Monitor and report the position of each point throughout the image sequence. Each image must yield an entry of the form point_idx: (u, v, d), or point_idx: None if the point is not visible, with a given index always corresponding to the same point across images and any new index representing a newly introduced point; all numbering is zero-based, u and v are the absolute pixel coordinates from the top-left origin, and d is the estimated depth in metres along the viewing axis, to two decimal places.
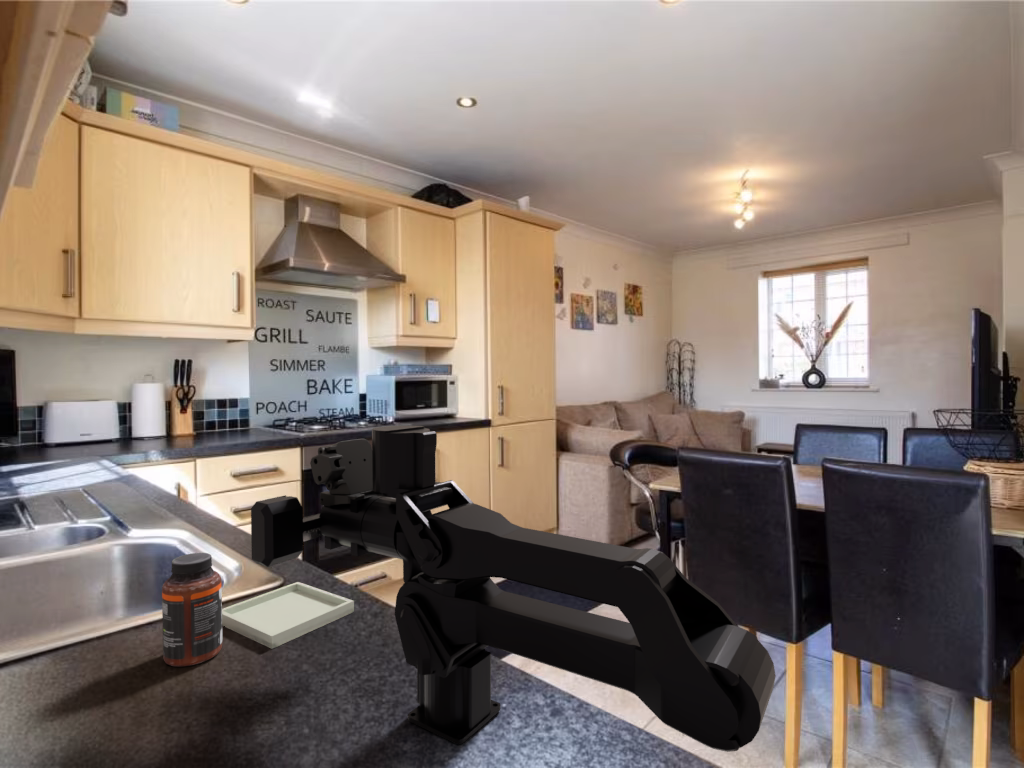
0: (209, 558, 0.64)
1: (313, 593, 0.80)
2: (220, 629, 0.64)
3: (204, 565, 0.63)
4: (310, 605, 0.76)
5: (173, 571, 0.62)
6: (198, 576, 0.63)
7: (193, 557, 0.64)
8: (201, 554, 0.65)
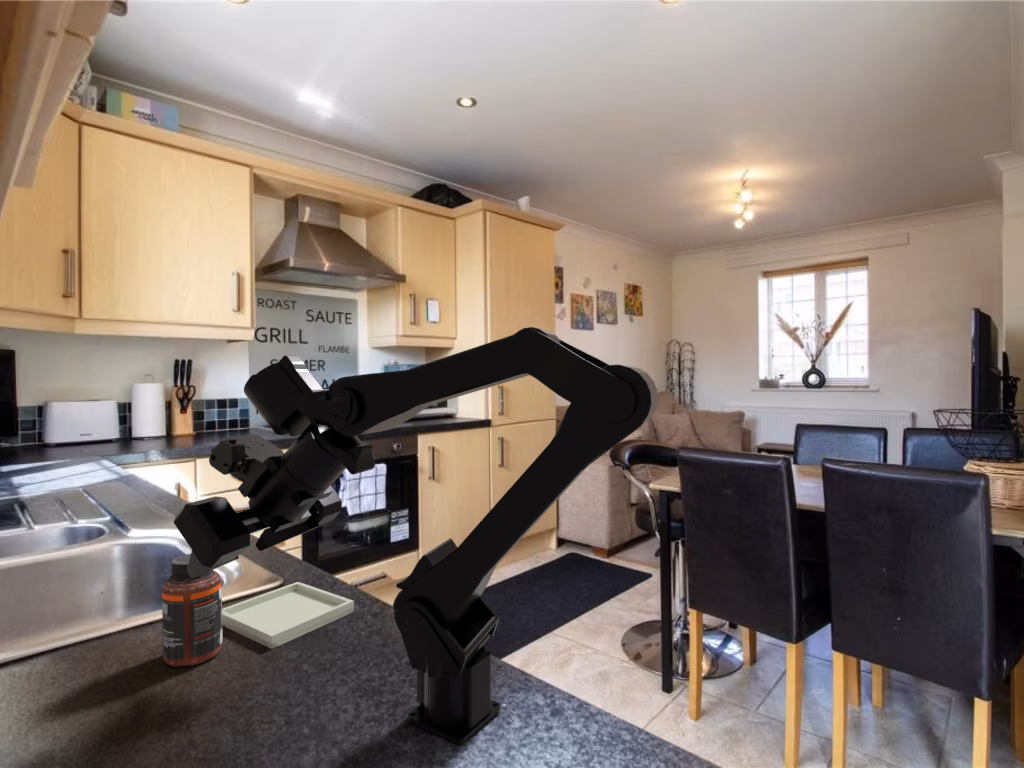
0: None
1: (313, 593, 0.80)
2: (220, 629, 0.64)
3: None
4: (310, 605, 0.76)
5: (173, 571, 0.62)
6: (198, 576, 0.63)
7: None
8: None
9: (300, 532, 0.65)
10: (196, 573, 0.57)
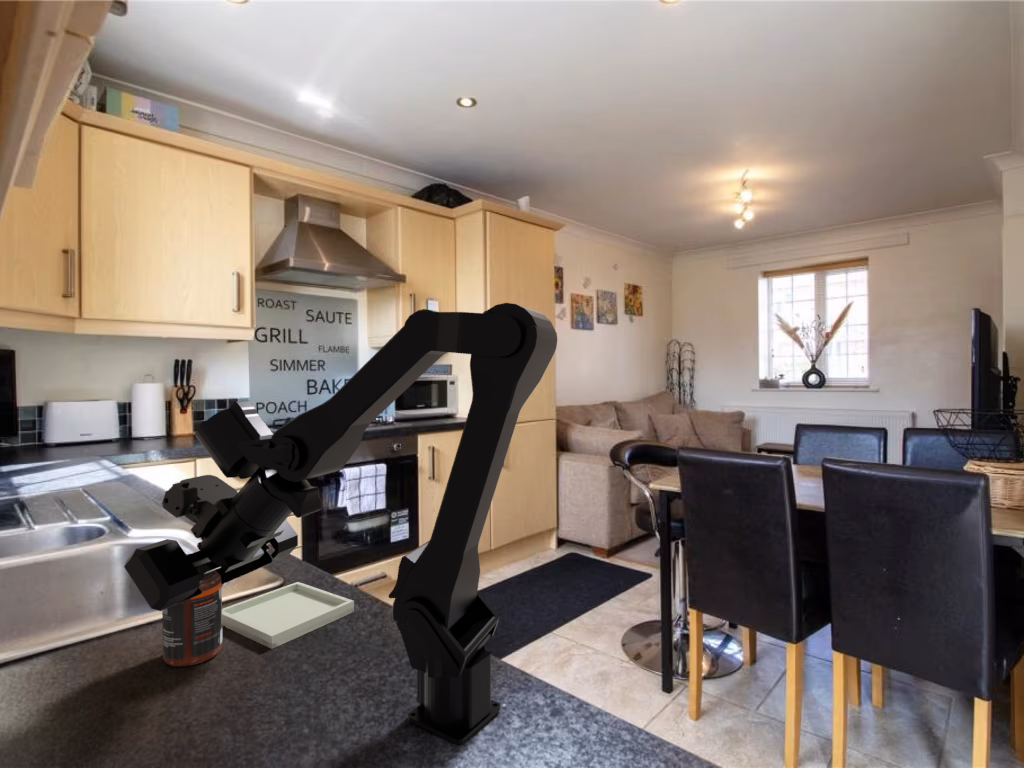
0: None
1: (313, 593, 0.80)
2: (220, 629, 0.64)
3: None
4: (310, 605, 0.76)
5: None
6: None
7: None
8: None
9: (246, 572, 0.66)
10: None
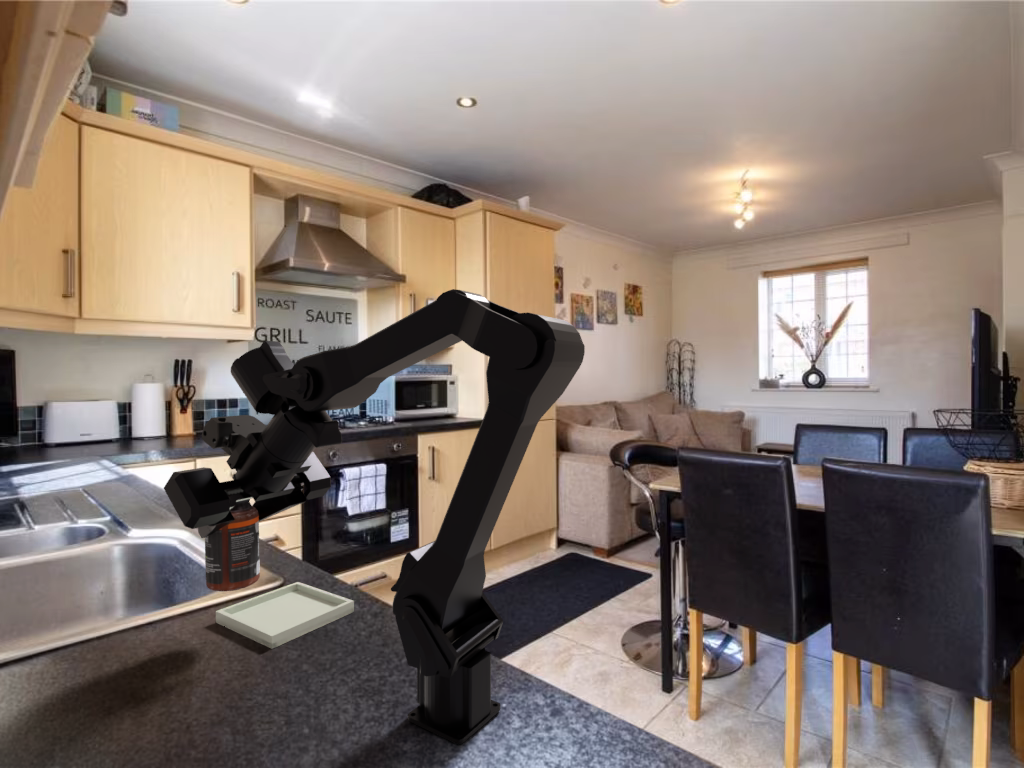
0: None
1: (313, 593, 0.80)
2: (257, 560, 0.68)
3: None
4: (310, 605, 0.76)
5: None
6: (235, 508, 0.67)
7: None
8: None
9: (281, 508, 0.69)
10: (204, 533, 0.65)
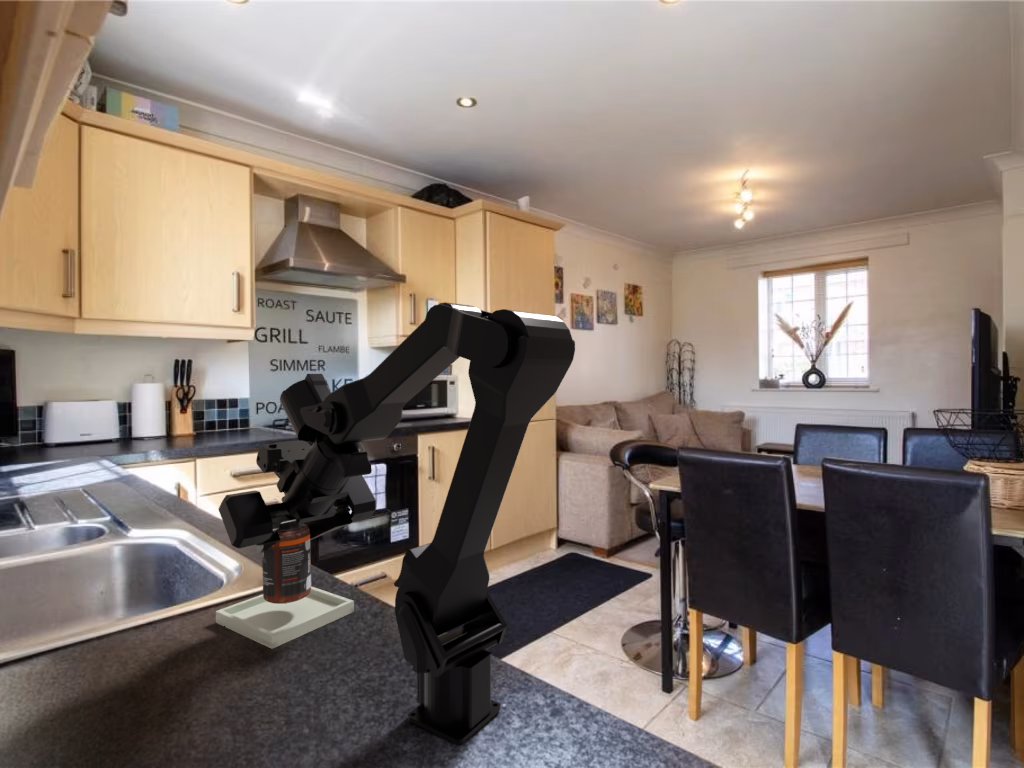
0: None
1: (313, 593, 0.80)
2: (307, 576, 0.73)
3: None
4: (310, 605, 0.76)
5: None
6: (287, 527, 0.72)
7: None
8: None
9: (329, 528, 0.74)
10: (259, 549, 0.71)
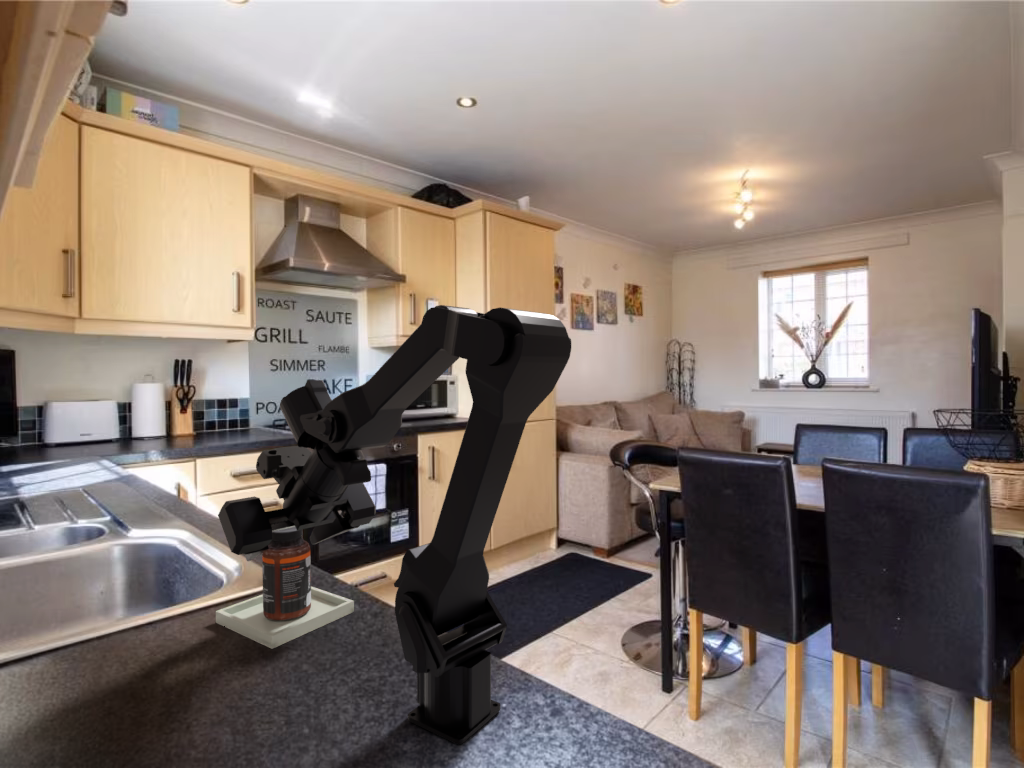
0: None
1: (313, 593, 0.80)
2: (307, 593, 0.73)
3: (293, 535, 0.73)
4: None
5: None
6: (287, 544, 0.72)
7: None
8: None
9: (337, 532, 0.75)
10: (247, 557, 0.70)
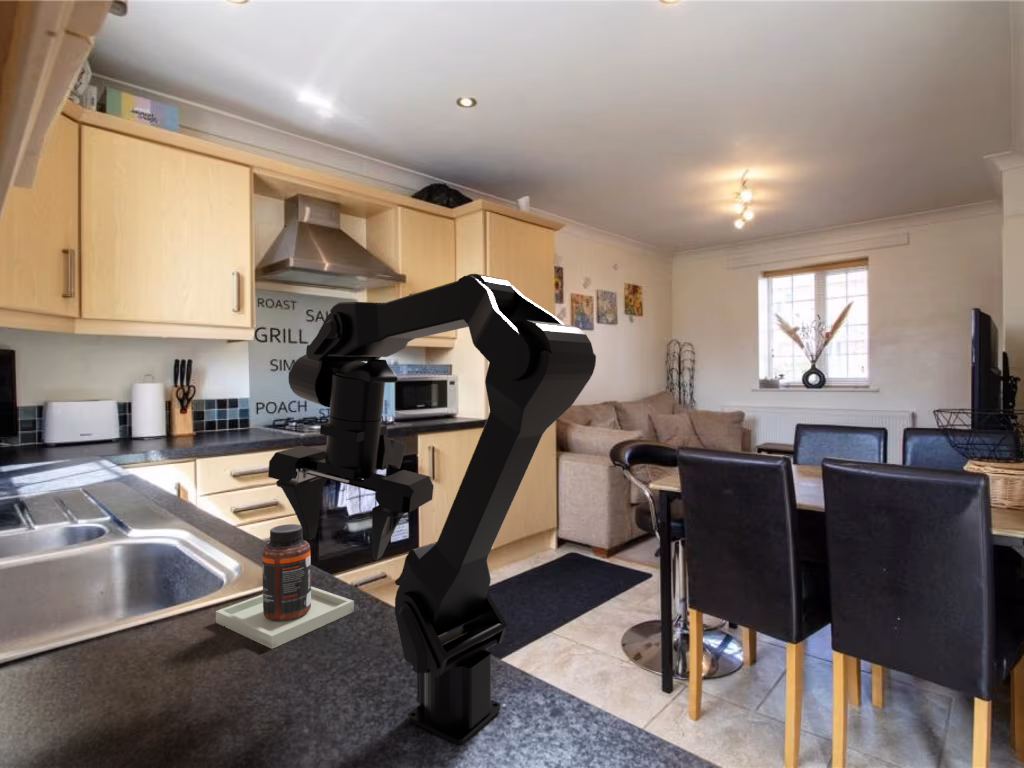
0: (298, 529, 0.73)
1: (313, 593, 0.80)
2: (307, 593, 0.73)
3: (293, 535, 0.73)
4: None
5: (270, 537, 0.73)
6: (287, 544, 0.72)
7: (288, 527, 0.74)
8: (295, 525, 0.75)
9: None
10: None
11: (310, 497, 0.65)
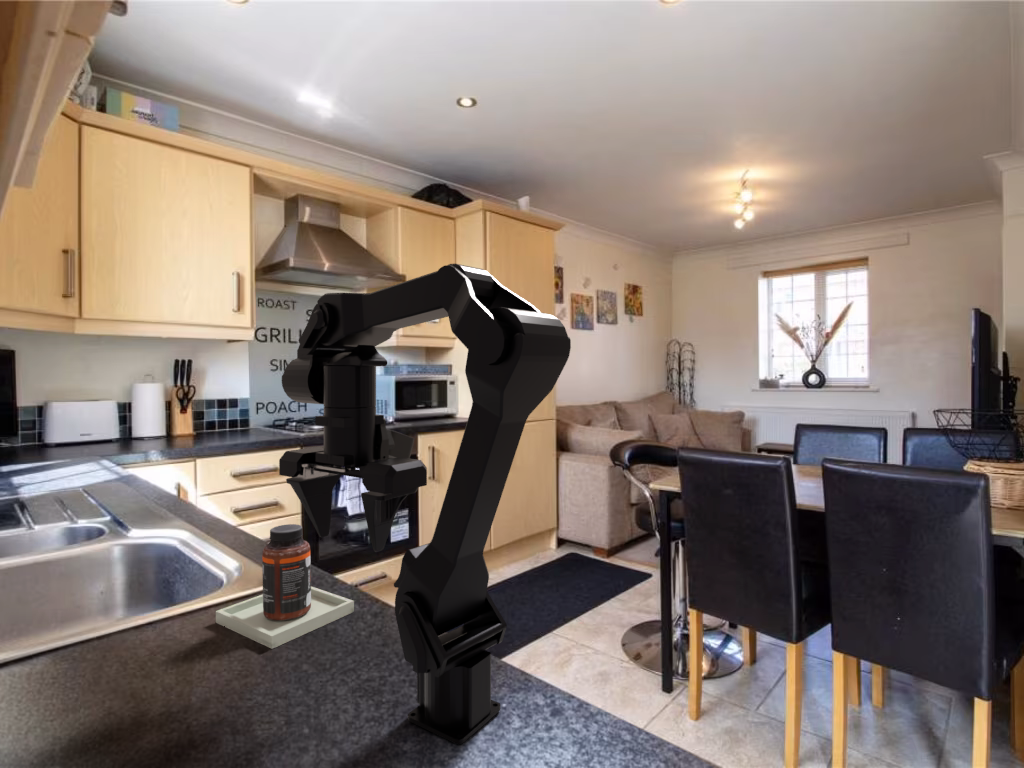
0: (298, 529, 0.73)
1: (313, 593, 0.80)
2: (307, 593, 0.73)
3: (293, 535, 0.73)
4: None
5: (270, 537, 0.73)
6: (287, 544, 0.72)
7: (288, 527, 0.74)
8: (295, 525, 0.75)
9: None
10: None
11: (319, 494, 0.66)
